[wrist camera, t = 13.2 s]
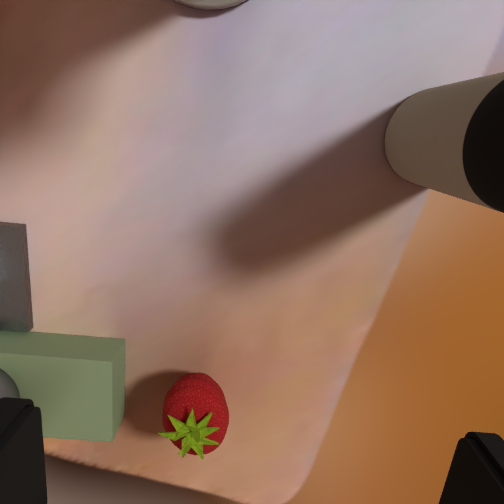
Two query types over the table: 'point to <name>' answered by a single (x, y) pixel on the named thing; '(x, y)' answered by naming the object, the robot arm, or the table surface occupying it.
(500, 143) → the travel mug
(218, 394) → the strawberry
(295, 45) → the table surface
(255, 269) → the table surface
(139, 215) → the table surface
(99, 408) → the green slab with knob
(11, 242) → the grey plate with ledge
